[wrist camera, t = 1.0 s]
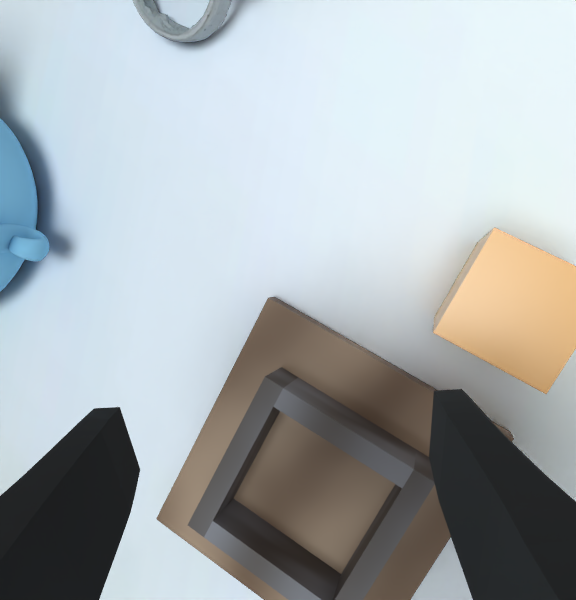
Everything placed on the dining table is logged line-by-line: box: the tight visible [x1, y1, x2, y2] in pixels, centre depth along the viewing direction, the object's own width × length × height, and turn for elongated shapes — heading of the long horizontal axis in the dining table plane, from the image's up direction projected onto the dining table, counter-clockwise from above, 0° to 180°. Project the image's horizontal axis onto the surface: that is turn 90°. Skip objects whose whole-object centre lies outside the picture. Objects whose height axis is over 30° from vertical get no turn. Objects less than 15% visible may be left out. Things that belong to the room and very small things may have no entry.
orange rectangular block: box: [433, 228, 576, 394], centre depth 19 cm, size 4×4×7 cm
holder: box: [157, 297, 514, 600], centre depth 24 cm, size 13×14×4 cm
